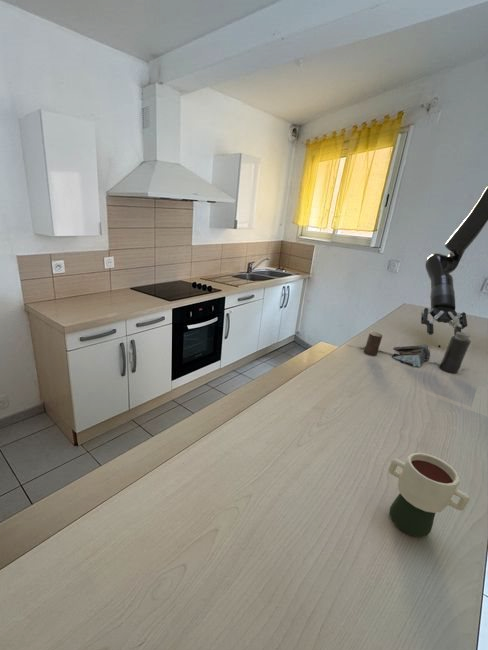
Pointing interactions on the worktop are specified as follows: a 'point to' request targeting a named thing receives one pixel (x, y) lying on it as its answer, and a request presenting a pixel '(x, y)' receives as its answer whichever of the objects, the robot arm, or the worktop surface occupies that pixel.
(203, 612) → the worktop surface
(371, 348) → the cylinder
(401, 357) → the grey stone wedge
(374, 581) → the worktop surface
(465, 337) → the pepper mill
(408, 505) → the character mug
